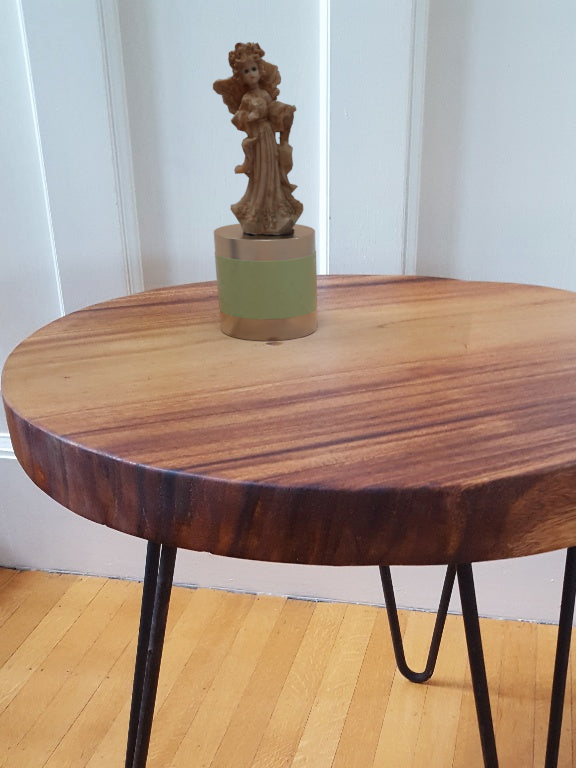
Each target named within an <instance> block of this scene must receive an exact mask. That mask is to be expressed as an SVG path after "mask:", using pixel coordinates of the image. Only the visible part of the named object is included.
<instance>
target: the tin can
mask: <svg viewBox="0 0 576 768" xmlns="http://www.w3.org/2000/svg"><path fill="white" fill-rule="evenodd" d="M292 229H294V230H295V231H294V232H293V233H289V234H279V235H275V234H257V235H256V234H251V233H245V232H243V230H242V228H241V224H240V223H234V224H227V225H224V226H220V227H217V228H215V229H214V230H213V242H214V243H213V244H214V261H215V262H214V263H215V275H216V287H217V298H218V299H217V301H218V310H219V318H220V330H221V332H222V333H223V334H225V335H227V336H229V337H232V338H235V339H240V340H247V341H259V342H260V341H261V342H269V341H270V342H271V341H273V342H274V341H287V340H295V339H299V338H304V337H306V336H309V335H311V334H313V333H315V332H316V331H317V330H318V282H317V281H318V276H317V275H318V273H317V271H318V270H317V250H316V230H315V229H314V228H313V227H311V226H307V225H304V224H299V223H295V225H294V227H293V228H292Z"/></svg>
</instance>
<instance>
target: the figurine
mask: <svg viewBox="0 0 576 768" xmlns="http://www.w3.org/2000/svg"><path fill="white" fill-rule="evenodd" d="M265 55H266V51H264V50H263V48H261V45H260V44H259V42H254V41H253V42H250V41H247V42H245V43H244V42H236V43H235V44H234V49H233V50H230V51H228V57H227V60H228V65H229V67H230V68H231V71H232V75H231V76H229V77H228V76H227V78H217V79H215V80H214V81H213V83H212V90H213V91H214V93H216V94H217V95H220V96H221V98H222V102H223V104H224V105H225V106H226V107H227V111H228V113H229V114H232V118H231V119H230V123H231V124H232V125H233V126H234V127H235V128H236V130H237V131H240V132H243V133H245V134H246V137H245V138H243V139H242V141H241V149H242V151H243V154H244V161H243V162H242V164H237V165H235V167H234V169H233V170H234V174H235V175H236V174H237V175H238V174H239V175H240V174H244V175H246V177H247V178H248V181H247V186H246V189H245V191H244V194H243V196H242V197H241V198H240V200H238V201H237V202H236V203H234V204H230V211H231V213H232V214H233V215H234V217H235V218H236V220H237V222H238V224H241V228H242V230H243V232H245V233H251V234H256V235H257V234H275V235H279V234H289V233H293V232H294V231H295V230H294V229H292V228H293V227H294V225H295V224H297V223H298V220H299V219H300V217H301V216H302V214H303V212H304V204H303V202H301V201H300V200H299V199H297V198H295V196H294V195H293V193H294V192H295V191H296V189H297V188H298V187H299V185H298V184H295V183H291V182H290V180H289V177H288V175H289V174H290V172H292V170H293V167H294V161H293V150H294V148H293V146H292V145H291V144H290V143H289V141H290V139H289V138H290V134H291V129H292V126H293V125H294V120H295V119H294V118H295V112H296V111H297V107H296V105H295V104H293V105H292V104H288V103H285V102H282V101H279V100H278V96H280V93H281V90H280V88H278V86H279V85H280V84H281V83H282V77H281V74H280V73H281V72H280V70H279V66H278V65H277V64H273V63H271V62H269V61H266V60H265V59H264V57H265ZM277 133H279V137H278V139H279V143H278V142H277V137H276V134H277Z"/></svg>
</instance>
